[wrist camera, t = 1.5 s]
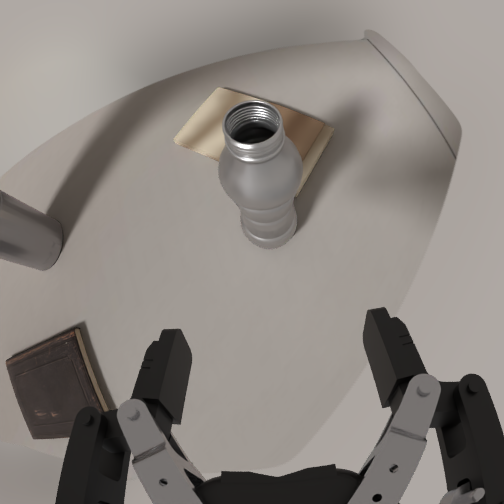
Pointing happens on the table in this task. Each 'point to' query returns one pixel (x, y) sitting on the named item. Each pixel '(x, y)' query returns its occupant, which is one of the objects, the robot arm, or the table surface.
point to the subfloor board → (212, 137)
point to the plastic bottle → (260, 172)
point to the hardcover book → (54, 385)
